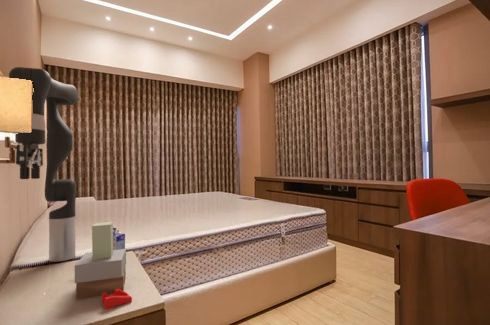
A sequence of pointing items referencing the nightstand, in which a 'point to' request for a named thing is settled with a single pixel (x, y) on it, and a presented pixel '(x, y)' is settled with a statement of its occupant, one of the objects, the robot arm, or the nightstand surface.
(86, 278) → the slate grey top block
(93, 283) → the walnut base block
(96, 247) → the sage green tall block
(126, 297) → the red lumpy piece
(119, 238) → the ink cartridge box
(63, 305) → the nightstand surface
